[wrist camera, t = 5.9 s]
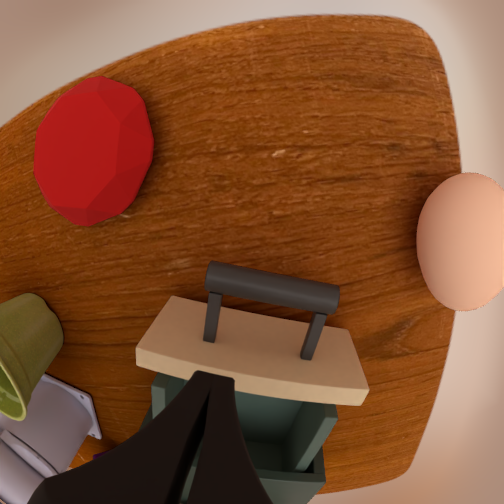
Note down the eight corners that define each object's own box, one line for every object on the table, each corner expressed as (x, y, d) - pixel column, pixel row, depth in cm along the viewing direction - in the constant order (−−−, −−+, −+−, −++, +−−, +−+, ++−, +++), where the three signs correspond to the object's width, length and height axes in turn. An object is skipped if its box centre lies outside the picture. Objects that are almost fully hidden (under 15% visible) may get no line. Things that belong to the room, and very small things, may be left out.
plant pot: (-1, 269, 20) (-63, 306, 12) (65, 279, 20) (-10, 333, 11) (24, 351, 23) (-22, 397, 15) (90, 372, 23) (43, 437, 14)
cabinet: (163, 376, 22) (130, 447, 14) (317, 405, 21) (326, 482, 14) (165, 457, 26) (147, 511, 19) (277, 478, 26) (275, 534, 18)
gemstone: (125, 243, 18) (101, 256, 15) (38, 184, 17) (10, 189, 15) (186, 112, 15) (168, 102, 13) (83, 70, 15) (57, 60, 12)
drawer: (178, 230, 17) (134, 264, 11) (369, 269, 17) (405, 317, 11) (167, 418, 22) (147, 469, 17) (296, 442, 22) (297, 495, 16)
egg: (550, 191, 8) (516, 335, 11) (495, 174, 14) (478, 284, 17) (443, 171, 10) (417, 336, 13) (409, 162, 16) (398, 280, 19)
